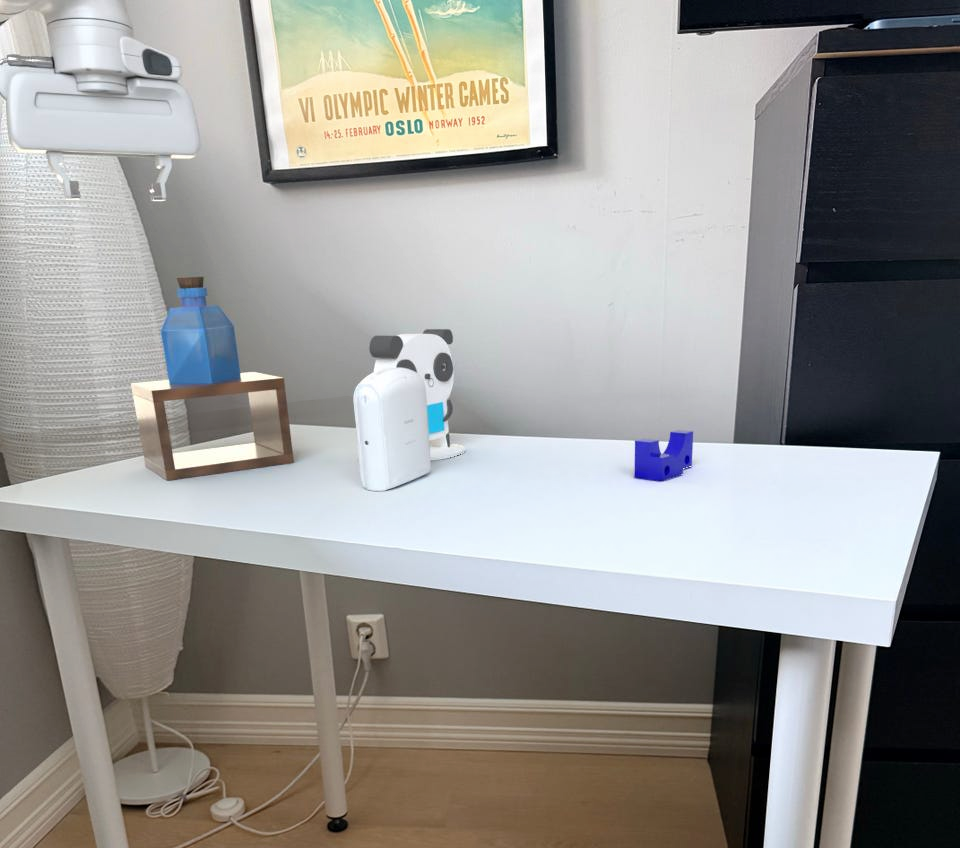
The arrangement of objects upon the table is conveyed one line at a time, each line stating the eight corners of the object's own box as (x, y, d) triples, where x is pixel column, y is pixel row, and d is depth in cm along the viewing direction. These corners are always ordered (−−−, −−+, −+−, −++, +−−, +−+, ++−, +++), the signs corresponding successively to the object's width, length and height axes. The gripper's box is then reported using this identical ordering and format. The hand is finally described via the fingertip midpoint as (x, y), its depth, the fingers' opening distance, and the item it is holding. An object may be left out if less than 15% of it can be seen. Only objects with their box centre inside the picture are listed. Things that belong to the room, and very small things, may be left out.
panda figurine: (421, 465, 113) (412, 336, 107) (356, 457, 119) (344, 335, 114) (483, 449, 121) (477, 328, 116) (419, 442, 128) (411, 328, 122)
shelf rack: (166, 480, 111) (151, 390, 107) (145, 466, 121) (130, 383, 117) (294, 462, 118) (284, 377, 114) (264, 450, 128) (254, 371, 124)
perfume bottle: (199, 377, 119) (184, 277, 115) (240, 377, 117) (226, 275, 113) (169, 383, 114) (152, 279, 109) (211, 383, 112) (196, 276, 107)
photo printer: (389, 492, 99) (379, 373, 95) (356, 490, 101) (344, 373, 96) (436, 473, 108) (430, 363, 103) (405, 471, 109) (397, 363, 105)
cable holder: (661, 481, 98) (662, 443, 97) (634, 477, 101) (635, 440, 99) (703, 468, 103) (704, 432, 102) (676, 465, 106) (677, 429, 104)
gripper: (-8, 45, 94) (20, 195, 99) (194, 62, 104) (211, 198, 108) (-12, 59, 99) (15, 201, 104) (181, 73, 109) (197, 203, 114)
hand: (116, 200), depth 106 cm, fingers open, 8 cm apart
